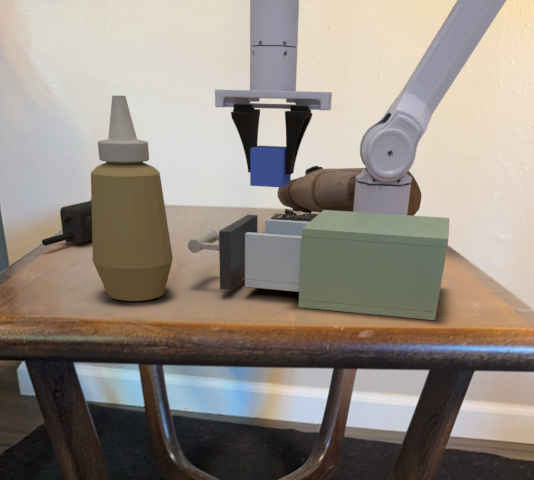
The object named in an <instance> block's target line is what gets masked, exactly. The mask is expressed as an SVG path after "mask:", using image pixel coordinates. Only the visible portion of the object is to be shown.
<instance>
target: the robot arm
mask: <svg viewBox="0 0 534 480" xmlns="http://www.w3.org/2000/svg"><path fill="white" fill-rule="evenodd" d="M506 2H507V0H456V2H455V4H454V5H453V6H452V7H451V10H450V11H449V13H448V15H447V16H446V18H445V20H444V21H443V23H441V24H442V25H441V26H440V28H439V29H438V31H437V33H436V34H435V36H434V37H433V39H432V40H431V43H430V44H429V45H428V47H427V49H426V50H425V52H424V54H423V55H422V57H421V59H420V60H419V62H418V63H417V65H416V67H415V68H414V69H413V72H412V73H411V75H410V76H409V78H408V80H407V81H406V83H405V84H404V86H403V88H402V89H401V91H400V92H399V93H398V95H397V96H396V97H395V99H394V101H393V102H392V103H391V105H390V106H389V107H388V109H386V110H387V111H386V112H385V114H384V115H383V117H382V118H381V119H379V120H378V121H377V122H376V123H374V124H372V125H371V126H369V128H368V129H366V131H365V132H364V134H363V135H362V137H361V138H362V139H361V141H360V145H359V155H360V159H361V162H362V164H363V165H364V167H363V168H364V169H363V171H362V172H361V173H360V174H359V175H357V176H356V180H357V181H356V183H355V195H354V206H353V212H364V213H379V214H395V215H407V211H408V204H409V196H410V188H411V181H412V177H411V176H409V175H407V172H408V171H409V172H410V170H411V168H412V167H413V164H414V163H415V159H416V154H417V149H418V146H419V143H420V141H421V139H422V137H423V136H424V134H425V133H426V131H427V128H428V126H429V124H430V121H431V119H432V116H433V114H434V113H435V111H436V110H437V108H438V106H439V105H440V104H441V102H442V100H443V99H444V97H445V96H446V94H447V92H449V89H450V88H451V86H452V85H453V83H454V82H455V80H456V78H457V77H458V75H459V74H460V72H461V71H462V70H463V68H464V66H465V65H466V63H467V62H468V60H469V59H470V57H471V55H472V54H473V52H474V51H475V49H476V47H477V46H478V45H479V43H480V42H481V40H482V39H483V37H484V35H485V34H486V32H487V31H488V30H489V28H490V27H491V25H492V23H493V22H494V20H495V19H496V17H497V16H498V14H499V12H501V9H502V8H503V7H504V5H505V4H506ZM299 13H300V0H250V1H249V89H218V88H217V89H214V107H215V108H233V109H232V111H231V112H230V117H231V119H232V121H233V123H234V126H235V128H236V130H237V133H238V135H239V138H240V141H241V145H242V147H243V151H244V155H245V160H246V161H245V162H246V165H247V166H246V167H247V173H248V174H250V148H252V147H256V146H258V138H259V126H260V125H259V124H260V117H261V109H274V110H275V109H276V110H277V109H279V110H285V111H284V122H285V123H284V124H285V144H286V145H285V147H286V155H285V174H288V175H290V174H291V175H293V174H294V173H295V167H296V161H297V156H298V153H299V150H300V147H301V144H302V141H303V138H304V136H305V133H306V131H307V128H308V126H309V125H310V122H311V120H312V117H313V113H312V111H313V110H314V111H317V110H318V111H331V110H332V98H333V97H332V96H333V92H331V91H304V90H303V91H302V90H301V91H299V90H298V91H297V71H298V70H297V68H298V67H297V66H298V43H299V42H298V41H299V17H300V16H299V15H300V14H299ZM260 99H270V100H271V99H272V100H273V99H275V100H276V99H277V100H278V99H280V100H285V103H260ZM253 102H255V103H253ZM257 102H259V103H257Z"/></svg>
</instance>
